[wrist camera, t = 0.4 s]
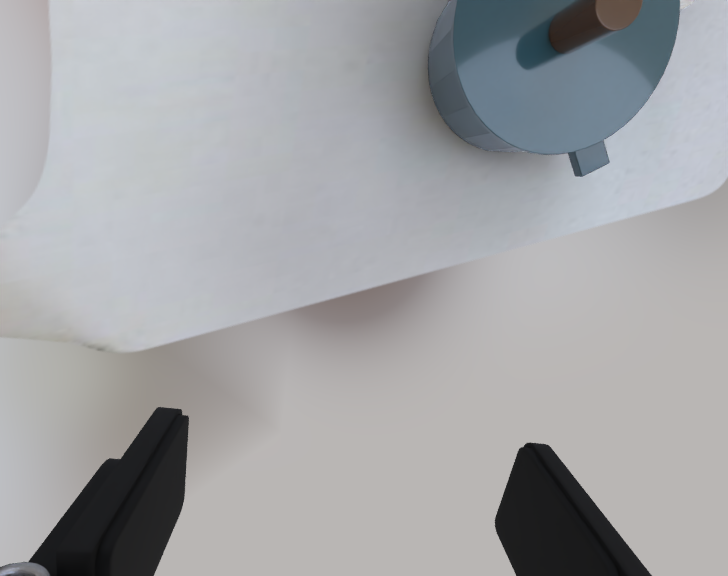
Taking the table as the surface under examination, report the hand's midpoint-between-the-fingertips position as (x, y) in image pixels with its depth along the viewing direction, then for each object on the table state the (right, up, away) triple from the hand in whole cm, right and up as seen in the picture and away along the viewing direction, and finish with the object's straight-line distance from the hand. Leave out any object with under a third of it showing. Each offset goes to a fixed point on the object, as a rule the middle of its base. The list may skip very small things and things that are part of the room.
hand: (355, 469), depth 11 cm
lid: (+14, +23, +16) cm, 31 cm away
